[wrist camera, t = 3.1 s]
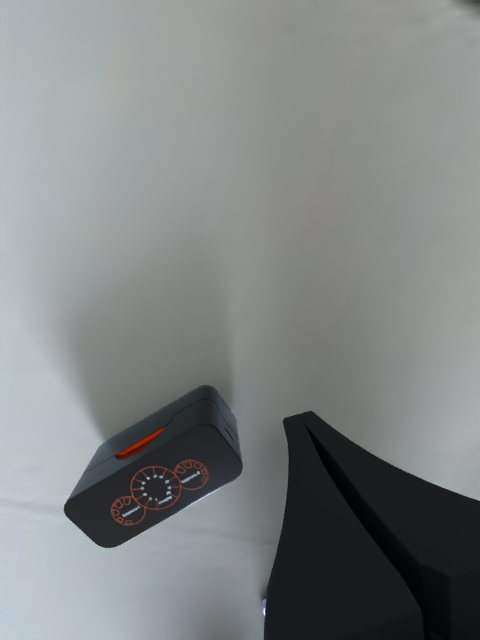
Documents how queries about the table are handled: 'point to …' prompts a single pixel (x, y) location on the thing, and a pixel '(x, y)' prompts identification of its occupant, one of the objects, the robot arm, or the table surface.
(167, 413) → the black rounded block
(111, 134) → the table surface
